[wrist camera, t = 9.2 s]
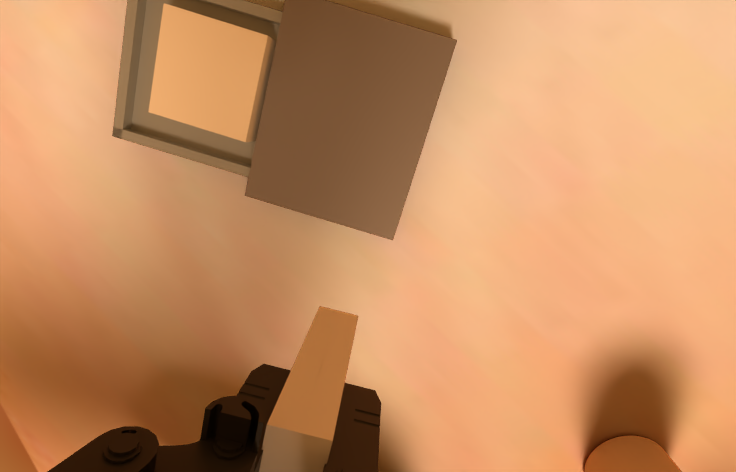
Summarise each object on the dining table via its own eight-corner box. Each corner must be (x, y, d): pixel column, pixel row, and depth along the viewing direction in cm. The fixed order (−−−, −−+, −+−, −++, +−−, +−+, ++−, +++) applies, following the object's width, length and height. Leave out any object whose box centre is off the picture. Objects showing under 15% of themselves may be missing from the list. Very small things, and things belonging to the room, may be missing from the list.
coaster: (256, 141, 35) (245, 142, 32) (165, 112, 35) (148, 111, 32) (277, 42, 32) (267, 35, 30) (181, 12, 32) (163, 3, 30)
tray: (255, 175, 36) (249, 177, 34) (123, 135, 36) (112, 136, 34) (288, 17, 32) (283, 12, 31) (143, -27, 32) (131, -35, 31)
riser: (393, 234, 36) (392, 240, 34) (252, 192, 36) (244, 195, 34) (453, 45, 32) (457, 40, 30) (294, -3, 32) (287, -12, 30)
